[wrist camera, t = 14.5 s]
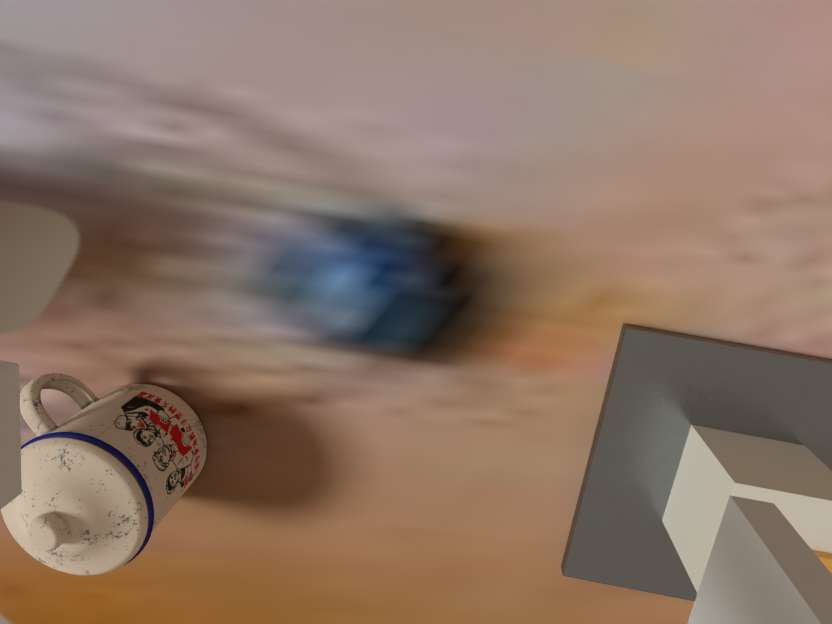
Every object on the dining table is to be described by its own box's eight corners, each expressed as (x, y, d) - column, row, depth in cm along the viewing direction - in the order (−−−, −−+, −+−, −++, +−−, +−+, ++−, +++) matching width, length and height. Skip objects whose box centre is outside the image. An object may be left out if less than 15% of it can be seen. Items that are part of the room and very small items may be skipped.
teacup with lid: (237, 461, 45) (157, 568, 33) (140, 515, 47) (33, 633, 35) (135, 319, 43) (13, 383, 31) (37, 382, 44) (-110, 463, 33)
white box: (661, 520, 42) (701, 601, 34) (691, 424, 40) (739, 488, 32) (769, 541, 41) (832, 627, 34) (804, 445, 39) (878, 514, 32)
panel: (623, 323, 39) (648, 355, 34) (918, 374, 39) (996, 416, 33) (561, 566, 44) (573, 630, 39) (821, 616, 44) (874, 689, 38)
